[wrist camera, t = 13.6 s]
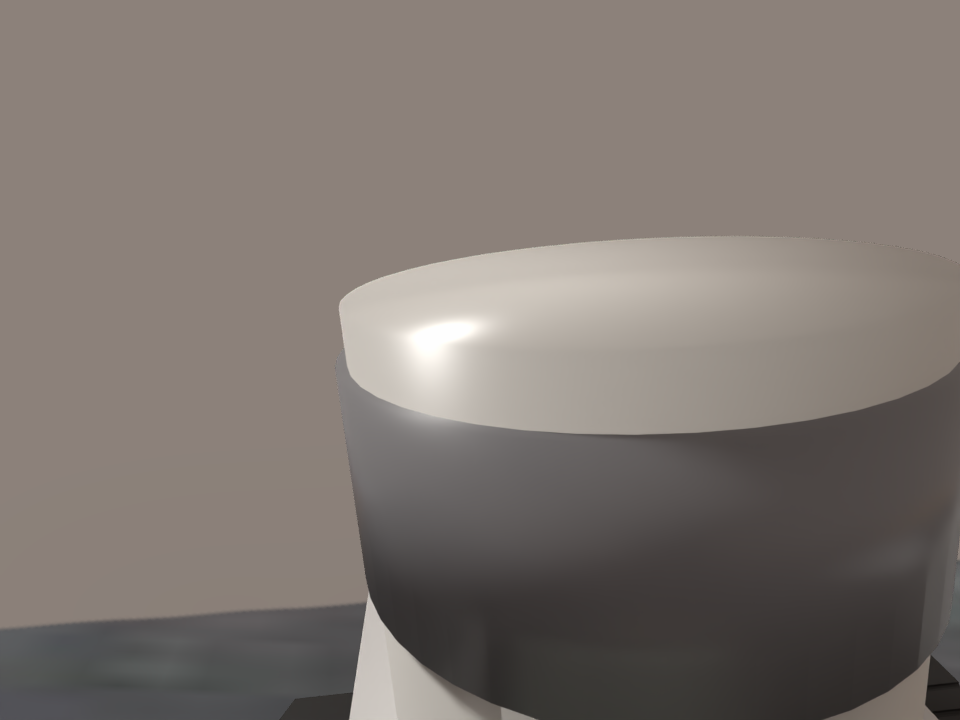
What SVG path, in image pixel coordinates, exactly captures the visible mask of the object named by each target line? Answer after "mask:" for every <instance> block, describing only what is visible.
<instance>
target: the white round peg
mask: <svg viewBox="0 0 960 720" xmlns="http://www.w3.org/2000/svg"><path fill="white" fill-rule="evenodd" d="M339 313H340V320H341V327H342V334H343V341H344V349H343V350H342V351H341V353H340V354H339V356H338V357H337V361H336V365H335V371H336V377H337V384H338V392H339V399H340V405H341V412H342V419H343V425H344V433H345V439H346V445H347V452H348V460H349V466H350V473H351V480H352V486H353V493H354V500H355V507H356V514H357V520H358V527H359V534H360V540H361V547H362V554H363V561H364V568H365V575H366V580H367V584H368V589H369V594H370V598H371V600H372V603H373V605H374V607H375V609H376V611H377V613H378V615H379V617H380V619H381V621H382V622H383V623H384V629H385V636H386V643H387V650H388V657H389V664H390V671H391V678H392V685H393V692H394V699H395V706H396V713H397V720H923V718H924V709H925V700H926V691H927V682H928V673H929V663H930V654H931V653H932V652H933V651H934V650H935V648H936V647H937V646H938V644H939V642H940V640H941V637H942V635H943V633H944V631H945V629H946V627H947V625H948V623H949V618H950V611H951V605H952V598H953V589H954V581H955V572H956V564H957V555H958V547H959V537H960V264H958V263H957V262H954V261H952V260H949V259H946V258H944V257H941V256H938V255H934V254H930V253H926V252H923V251H918V250H913V249H908V248H902V247H897V246H889V245H882V244H875V243H866V242H856V241H846V240H833V239H819V238H799V237H769V236H768V237H767V236H699V237H668V238H667V237H666V238H643V239H626V240H610V241H597V242H584V243H573V244H562V245H553V246H543V247H534V248H527V249H518V250H511V251H503V252H496V253H490V254H483V255H477V256H471V257H465V258H459V259H455V260H449V261H444V262H439V263H434V264H429V265H425V266H421V267H417V268H413V269H409V270H405V271H401V272H398V273H394V274H391V275H388V276H385V277H382V278H379V279H377V280H374V281H371V282H369V283H367V284H364V285H362V286H360V287H358V288H356V289H354V290H353V291H351V292H350V293H348V294H347V295H346V296H345V297H344V298H343V299H342V300H341V302H340V305H339Z"/></svg>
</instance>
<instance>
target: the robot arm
mask: <svg viewBox="0 0 960 720" xmlns="http://www.w3.org/2000/svg"><path fill="white" fill-rule="evenodd" d="M280 720H397V713H396V706H395V699H394V692H393V685H392V678H391V671H390V664H389V657H388V650H387V643H386V636H385V629H384V623H383V622H382V621H381V619H380V617H379V615H378V613H377V611H376V609H375V607H374V605H373V603H372V600H371V598H370V594H368V600H367V607H366V613H365V620H364V626H363V633H362V639H361V646H360V653H359V659H358V666H357V672H356V679H355V685H354V692H353V693H345V694H336V695H327V696H318V697H308V698H299V699H295V700H294V701H293V703H292V704H291V705H290V706H289V708H288V709H287V710H286V712H285V713H284V714H283V716H282V717H281V718H280ZM923 720H960V686H959V682H958V681H957V680H956V679H955V678H954V677H953V676H952V675H951V674H950V673H949V672H948V671H947V670H946V669H945V668H944V667H943V666H942V665H941V664H940V663H939V662H938V661H937V660H935V659H934V658H933V657H932V656H931V655H930V663H929V673H928V682H927V691H926V700H925V709H924V718H923Z"/></svg>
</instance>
